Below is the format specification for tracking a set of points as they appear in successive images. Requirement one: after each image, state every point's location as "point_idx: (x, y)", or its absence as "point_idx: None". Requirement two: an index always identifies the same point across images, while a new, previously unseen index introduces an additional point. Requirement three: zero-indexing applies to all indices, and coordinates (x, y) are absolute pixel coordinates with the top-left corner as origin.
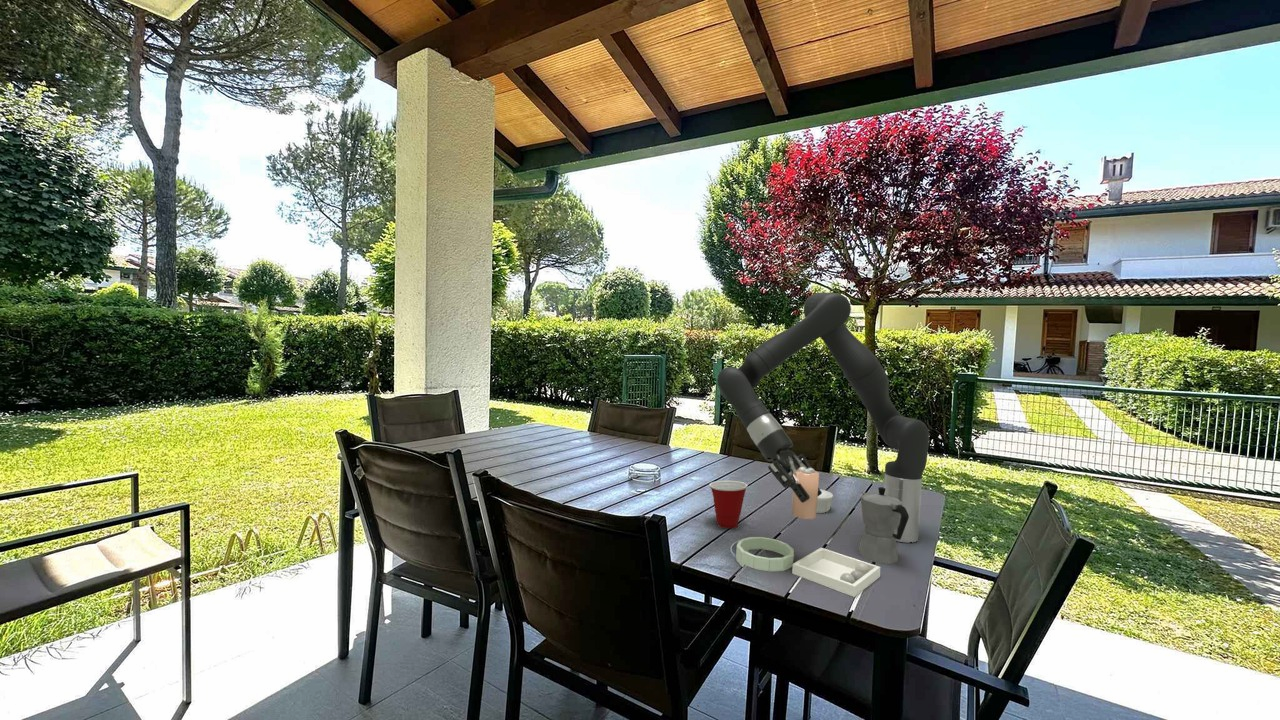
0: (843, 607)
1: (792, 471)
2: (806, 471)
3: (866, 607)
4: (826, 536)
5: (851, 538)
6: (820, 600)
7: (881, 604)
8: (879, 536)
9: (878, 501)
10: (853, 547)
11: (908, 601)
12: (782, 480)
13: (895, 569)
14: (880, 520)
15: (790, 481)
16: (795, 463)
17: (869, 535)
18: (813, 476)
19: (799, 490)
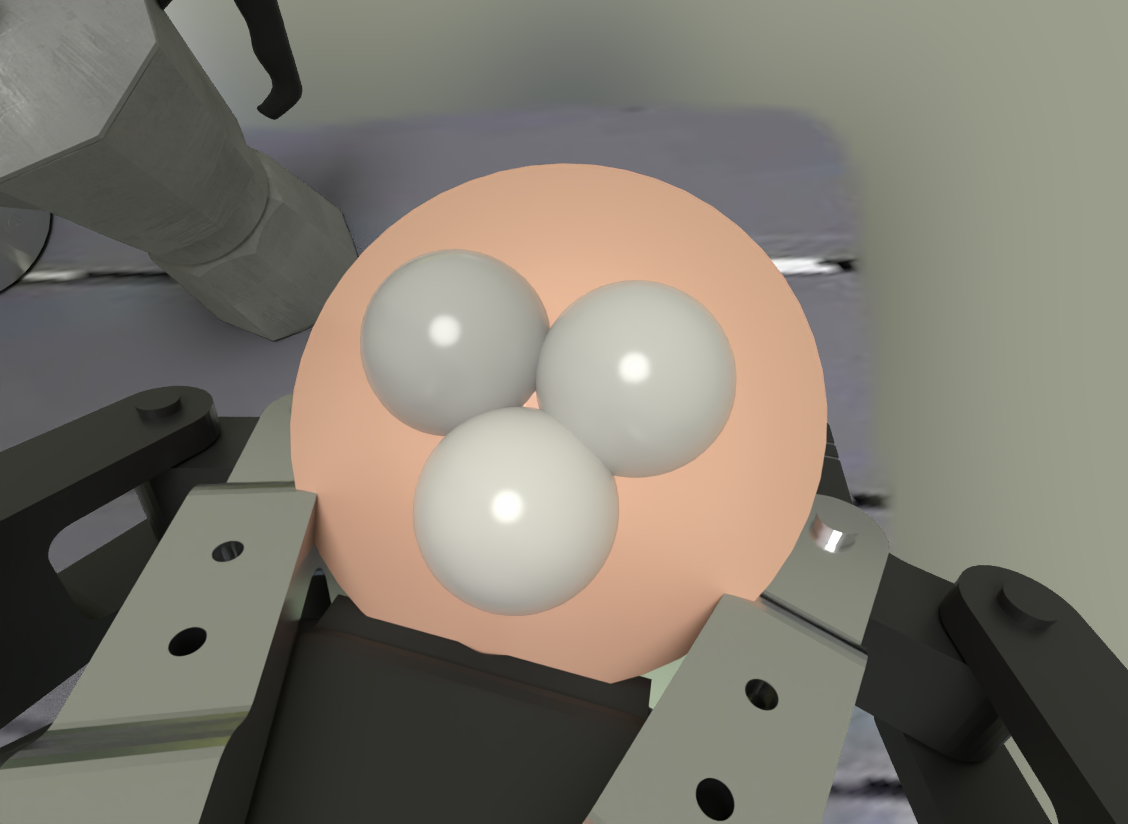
0: (821, 292)
1: (854, 687)
2: (723, 348)
3: (762, 227)
4: (120, 506)
5: (94, 400)
6: (826, 374)
7: (701, 191)
8: (265, 189)
9: (109, 43)
10: (202, 372)
11: (614, 125)
12: (983, 810)
13: (354, 198)
14: (222, 121)
15: (1069, 614)
16: (287, 781)
17: (260, 236)
18: (722, 230)
19: (842, 475)
